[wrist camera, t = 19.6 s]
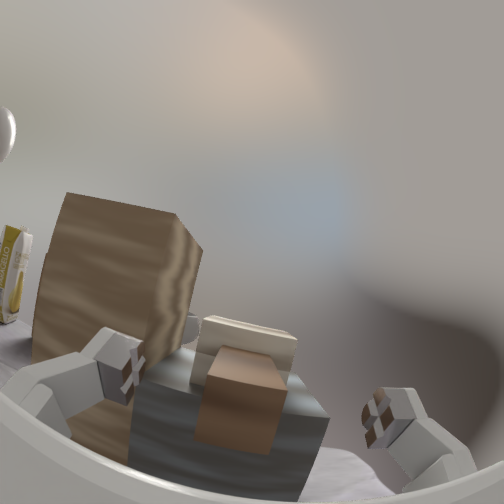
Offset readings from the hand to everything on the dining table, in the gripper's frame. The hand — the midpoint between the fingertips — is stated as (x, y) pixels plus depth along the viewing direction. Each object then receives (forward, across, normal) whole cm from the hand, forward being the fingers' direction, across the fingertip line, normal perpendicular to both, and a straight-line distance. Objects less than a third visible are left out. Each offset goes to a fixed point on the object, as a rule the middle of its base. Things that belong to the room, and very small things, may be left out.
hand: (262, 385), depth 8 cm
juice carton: (+26, -58, -37) cm, 74 cm away
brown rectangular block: (+7, 0, -9) cm, 12 cm away
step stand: (+4, -5, -24) cm, 25 cm away
